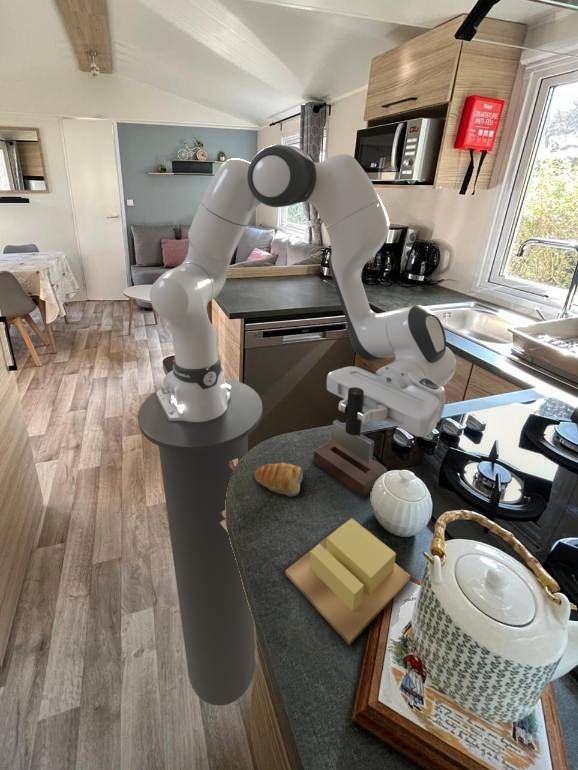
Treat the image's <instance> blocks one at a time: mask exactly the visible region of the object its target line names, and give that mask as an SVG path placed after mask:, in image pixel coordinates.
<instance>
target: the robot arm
mask: <svg viewBox="0 0 578 770" xmlns="http://www.w3.org/2000/svg"><path fill="white" fill-rule="evenodd" d="M305 202H306V203H309V204H310V205H311V206H313V207H314V209H315V211H316V212H317V213H318V215H319V218H320V219H321V222H322V223H323V225H324V228H325V230H326V232H327V234H328V237H329V241H330V247H331V253H330V255H329V258H328V265H329V270H330V274H331V278H332V282H333V284H334V288H335V290H336V294H337V297H338V299H339V303H340V306H341V309H342V311H343V312H342V313H343V315H344V318H345V320H346V324H347V329H348V336H349V342H350V344H351V347H352V349H353V350H354V352H355V353H356V354H357V355H358V356H359V357H360V358H362V359H363V360H365V361H367V362H374V361H375V362H376V361H379V360H380V361H381V360H384V359H388V358H395V359H394V361H392V362H390V363H388V364H386V365H384V366H382V367H380V368H378V369H377V370H376V371H375V373H372V372H370V371H368V370H365V369H363V368H361V367H358V366H355V365H353V366H352V365H350V366H345V367H341V368H338V369H335V370H333V371H329V373H328V374H327V375H326V390H327V392H329V393H331V394H333V395H335V396H337V397H339V398H341V399H342V400H340V401H339V403H338V411H340V412H341V413H343V414H347V400H348V390H349V388H352V387H357V388H360V389H362V390H363V391H364V396H363V408H362V411H359V412H358V413H357V416H358V417H357V420H358V421H360V422H361V424H363V425H366V424H368V423H370V422H383V421H385V422H388V423H390V424H392V425H393V426H395V427H397V428H399V429H401V430H403V431H405V432H407V433H409V434H410V435H413V436H415V437H418V438H419V437H420V438H424V437H427V436H429V435H430V434H431V433H432V432H433V431H434V430H435V429H436V427H437V425H438V423H439V422H440V421H441V419H442V416H443V414H444V413H443V412H444V409H445V401H446V389H445V388H444V387H445V386H446V385H447V384H448V383H449V382H450V381H451V380H452V379H453V376H455V373H456V371H457V359H456V356H455V354H454V352H453V350H451V349H450V348H449V347H448V346H447V337H446V333H445V332H446V331H445V328H444V326H443V324H442V322H441V319H440V318H438V316H437V315H436V314H435V313H434V312H432V311H431V310H430V309H429V308H428V307H426V306H424V305H421V304H414V305H409V306H405V307H400V308H397V309H394V310H389V311H384V312H379V313H377V312H374V310H372V309H371V306H370V303H369V300H368V296H367V294H366V291H365V287H364V284H363V281H362V272H363V269H364V267H365V265H366V264H367V263H368V262H369V261H370V260H371V259H372V258H373V257H374V256H375V255H376V254H377V253H378V252H379V251H380V250H381V248H382V247H383V246H384V245H385V242H386V241H387V239H388V235H389V232H390V219H389V216H388V213H387V210H386V208H385V206H384V204H383V202H382V199H381V197H380V195H379V193H378V191H377V189H376V188H375V186H374V184H373V182H372V180H371V179H370V177H369V175H368V174H367V172H366V171H365V170H364V168H363V167H362V166H361V164H360V163H359V162H358V161H357V159H356V158H355V157H354V156H352V155H350V154H346V153H343V154H340V153H339V154H336V155H332V156H330V157H327V158H326V159H324V160H322V161H319V162H316V160H315V159H314V158H313V156H312V155H311V154H309V153H308V152H306V150H303V149H301V148H299V147H297V146H293V145H284V144H273V145H269V146H266V147H264V148H262V149H261V150H260V151H258V152H257V153H256V154H255V155H254V157H253V158H252V159H251V161H250V162H249V161H247V160H245V159H242V158H229V159H227V160H225V161H224V162H222V164H221V165H220V167H219V168H217V171H216V173H214V175H213V177H212V178H211V181H210V182H209V184H208V186H207V188H206V190H205V192H204V194H203V196H202V198H201V200H200V203H199V206H198V208H197V210H196V212H195V215H194V218H193V220H192V223H191V225H190V227H189V230H188V233H187V238H188V242H189V244H188V250H187V254H186V256H185V259H184V260H183V262H182V263H181V264H180V265H178V266H176V267H174V268H171V269H169V270H166V271H165V272H163V273H162V274H161V275H160V276H159V277H158V278H157V279H156V280H155V281H154V282H153V284H152V285H151V287H150V291H149V300H150V304H151V306H152V308H153V309H154V312H156V313H157V314H158V315H159V316H160V317H162V318H164V320H165V321H166V323H167V326H168V327H169V330H170V333H171V337H172V345H173V354H174V357H172V358H171V359H172V363H173V365H172V370H170V371H168V372H166V373H165V375H164V377H163V383H162V384H163V385H161V387H160V388H159V389H157V390H158V391H157V390H156V391H157V392H156V391H155V392H156V396H157V398H158V400H159V402H160V404H161V406H162V408H163V410H164V412H165V413H166V415H167V417H168V419H169V420H170V421H188V422H205V421H209V420H213V419H215V418H217V417H219V416H221V415H222V414H223V413H224V412H225V411H226V409H227V407H228V400H229V399H230V397H231V395H230V392H228V391H227V389H226V387H228V388H231V386H230V385H228V384H226V382H225V378H226V375H225V372H224V371H223V370H222V360H221V357H220V355H219V341H218V340H219V339H218V330H217V328H216V327H215V326H214V324H212V323H211V320H210V318H209V314H208V304H209V302H211V301H212V300H214V299H216V298H217V297H218V296H219V294H220V293H221V291H222V290H223V289H224V286H225V284H226V282H227V281H226V280H227V275H228V272H229V269H230V264H231V263H232V258H233V255H234V254H235V251H236V249H237V247H238V245H239V243H240V241H241V239H242V237H243V235H244V233H245V231H246V229H247V227H248V225H249V223H250V221H251V219H252V217H253V215H254V213H255V211H256V209H257V208H258V207H259V206H260V204H263V205H264V206H268V207H271V208H284V207H290V206H294V205H296V204H299V203H305Z"/></svg>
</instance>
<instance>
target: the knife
mask: <svg viewBox="0 0 578 770" xmlns="http://www.w3.org/2000/svg"><path fill="white" fill-rule="evenodd" d="M363 396H364V391H363V390H362V389H360V388H357V387H352V388H349V390H348V400H347V414H346V416H345V423H343V422H341V421H339V420H338V419H335V420H333V422H332V433H331V440H333V441H334V442H336V443H338V444H339V445H341V446H342V447H344V448H346V449H347V450H349V451H350V452H352V453H353V454H355V455H357V456H358V457H360V458H361V459H363V460H365V461H366V462H368V463H370V462H371V461H372V459H373V456H374V449H375V448H374V447H375V441H374V440H373V439H371V438H369V437H367V436H366V435H364V434H362V433H361V428H362V422H360V421H358V420H357V417H358V416H357V413H358V412H359V411H362V408H363Z"/></svg>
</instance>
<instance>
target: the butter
mask: <svg viewBox="0 0 578 770" xmlns="http://www.w3.org/2000/svg"><path fill="white" fill-rule="evenodd" d="M344 523H345V524H344ZM344 523H343V524H344V525H342V524H341V525H342V526H341V525H340V526H341V527H340V526H339V527H340V528H339V527H338V528H339V529H338V528H336V529H337V530H336V529H335V530H336V531H335V530H334V531H335V532H334V531H333V532H334V533H333V532H332V533H333V534H331V533H330V534H331V535H330V534H329V535H330V536H329V535H328V536H329V537H328V536H327V537H328V538H327V545H326V550H327V551H328V552H329V553H330V554H331V555H332V556H333V557H334V558H335V559H336V560H337V561H338V562H340V563H341V564H342V565H343V566H344V567H345V568H346V569H347V570H348V571H349V572H350V573H351V574H352V575H353V576H355V577H356V578H357V579H358V580H359V581H360V582H361V583H362V584H363V585H364V588H363V590H364V591H365V592H366V593H367V594H368V595H370V594H371V593H372V592H373V591H374V590H375V589H376V588H377V587H378V585H379V584H380V583H381V582H382V581H383V580H384V579H385V578H386V577H387V576H388V575H389V574H390V573H391V572H392V571H393V570H394V564H395V562H396V556H397V552H395V551H394V550H393V549H392V548H390V547H389V546H388V545H386V544H385V543H384V542H382V541H381V540H380V539H379V538H377V536H375V535H374V534H373V533H372V532H370V531H369V530H368V529H366V528H365V527H363V526H362V525H361V524H360V523H358V521H356V520H355V519H354V518H352V517H351V518H349V520H347V521H346V522H344Z"/></svg>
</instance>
